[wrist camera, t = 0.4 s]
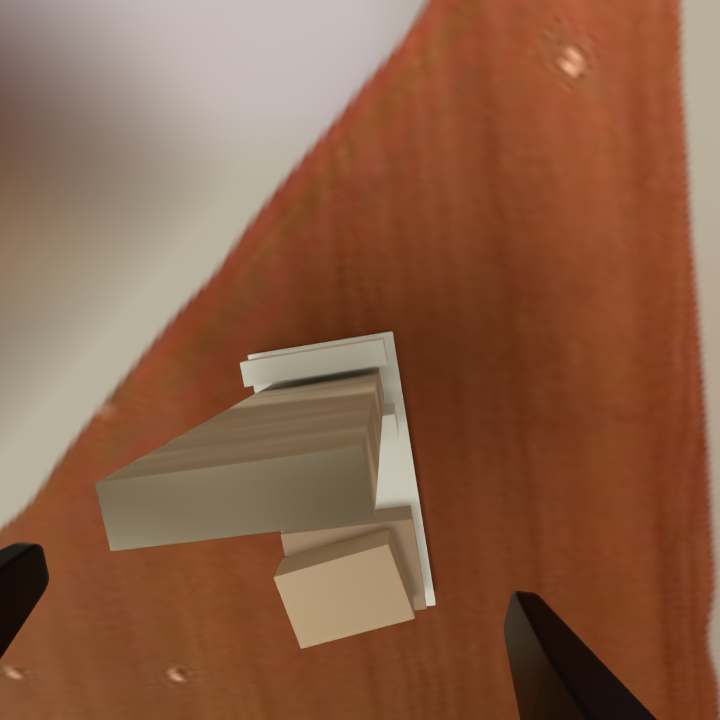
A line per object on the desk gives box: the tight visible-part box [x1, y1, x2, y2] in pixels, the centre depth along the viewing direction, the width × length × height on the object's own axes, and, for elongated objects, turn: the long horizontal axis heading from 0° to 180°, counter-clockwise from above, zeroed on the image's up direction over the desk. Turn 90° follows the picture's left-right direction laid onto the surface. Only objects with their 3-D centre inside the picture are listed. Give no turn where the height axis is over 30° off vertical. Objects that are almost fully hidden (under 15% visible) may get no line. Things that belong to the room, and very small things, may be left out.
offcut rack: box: [240, 331, 436, 649], centre depth 21 cm, size 16×8×4 cm, turn 10°
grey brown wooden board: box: [95, 368, 384, 551], centre depth 15 cm, size 2×6×13 cm, turn 99°
